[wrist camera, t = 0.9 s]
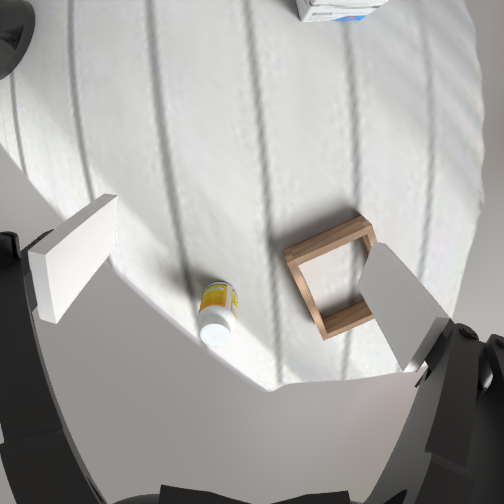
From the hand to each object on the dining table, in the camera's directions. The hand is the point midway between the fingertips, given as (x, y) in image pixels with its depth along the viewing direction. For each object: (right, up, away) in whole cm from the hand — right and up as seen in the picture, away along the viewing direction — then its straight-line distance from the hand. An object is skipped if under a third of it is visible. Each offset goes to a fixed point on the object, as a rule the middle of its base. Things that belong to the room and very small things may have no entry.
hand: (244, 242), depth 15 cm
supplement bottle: (-5, -7, +33) cm, 34 cm away
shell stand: (+14, -4, +32) cm, 35 cm away
